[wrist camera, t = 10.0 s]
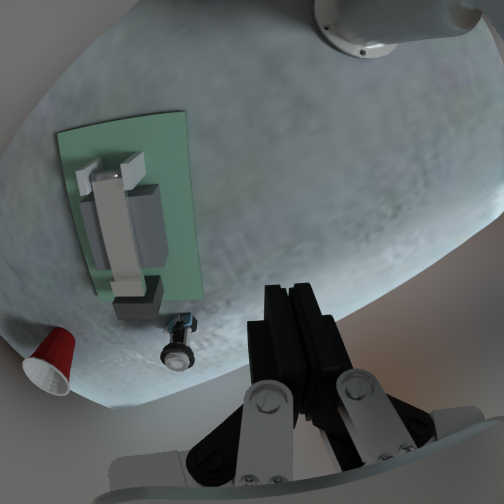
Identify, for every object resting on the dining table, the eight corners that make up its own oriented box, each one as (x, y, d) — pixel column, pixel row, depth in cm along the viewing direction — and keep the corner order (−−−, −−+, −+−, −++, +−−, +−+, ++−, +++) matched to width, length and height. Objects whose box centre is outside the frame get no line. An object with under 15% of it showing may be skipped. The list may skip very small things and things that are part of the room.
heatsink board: (62, 131, 32) (30, 144, 25) (186, 110, 33) (175, 115, 26) (102, 295, 46) (88, 328, 39) (203, 293, 47) (201, 329, 40)
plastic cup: (85, 327, 50) (65, 374, 39) (87, 358, 55) (72, 402, 44) (40, 310, 47) (16, 353, 37) (46, 343, 52) (27, 383, 42)
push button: (172, 335, 52) (166, 379, 43) (155, 317, 49) (145, 361, 40) (203, 324, 51) (200, 369, 42) (187, 304, 48) (181, 349, 39)
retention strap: (92, 172, 30) (85, 177, 28) (125, 167, 30) (119, 172, 29) (119, 288, 38) (115, 298, 36) (148, 288, 38) (144, 297, 37)
